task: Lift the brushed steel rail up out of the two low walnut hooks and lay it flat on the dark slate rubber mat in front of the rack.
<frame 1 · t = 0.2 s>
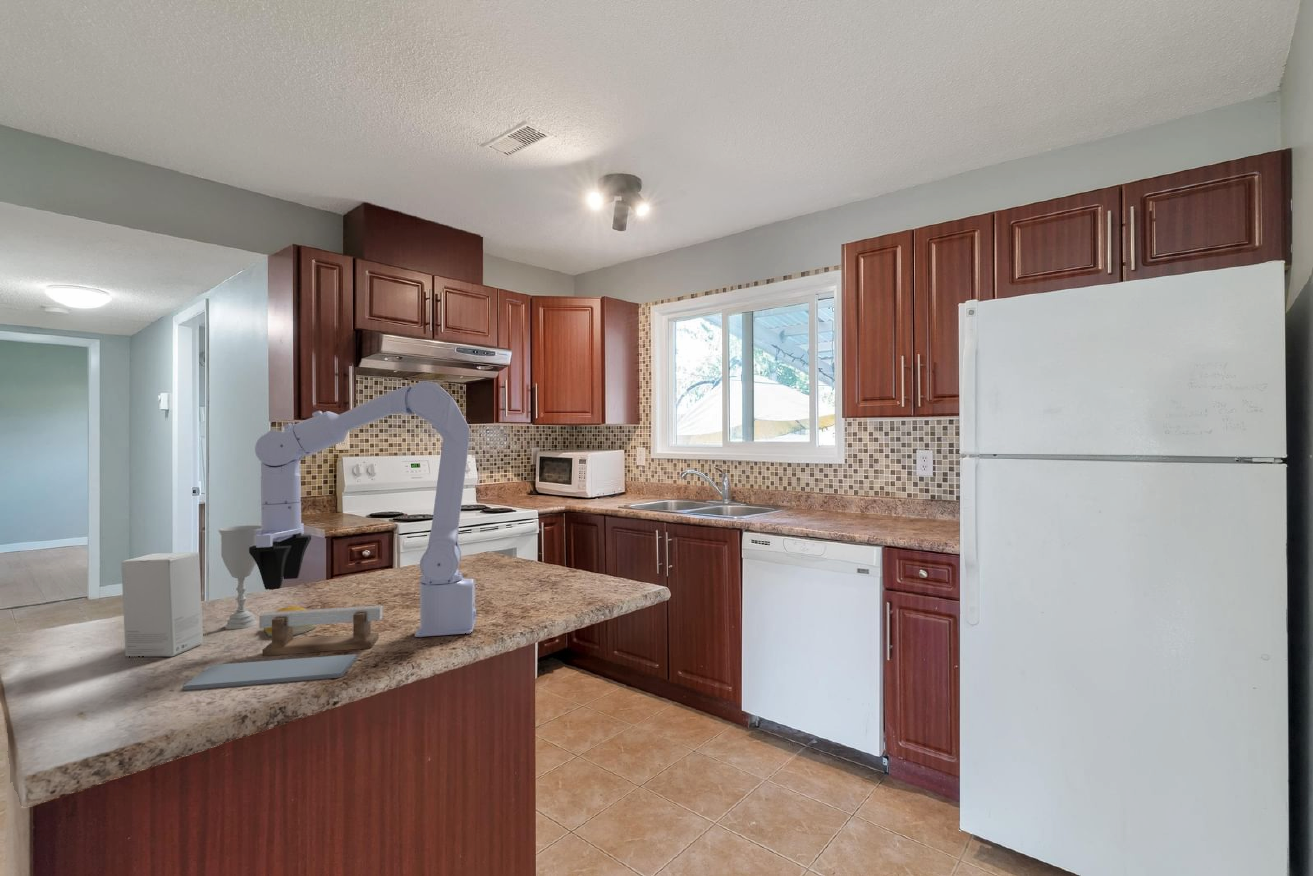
hand: (282, 583, 103), 10 cm above the countertop, tool pointing down, fingers open, 7 cm apart
skincare box: (163, 652, 99), on the countertop
bread roll: (290, 631, 110), on the countertop
chalice: (241, 626, 113), on the countertop
slate mat: (275, 673, 89), on the countertop
steel rail: (322, 622, 100), point 4 cm above the countertop, touching hook rack
hook rack: (322, 646, 100), on the countertop
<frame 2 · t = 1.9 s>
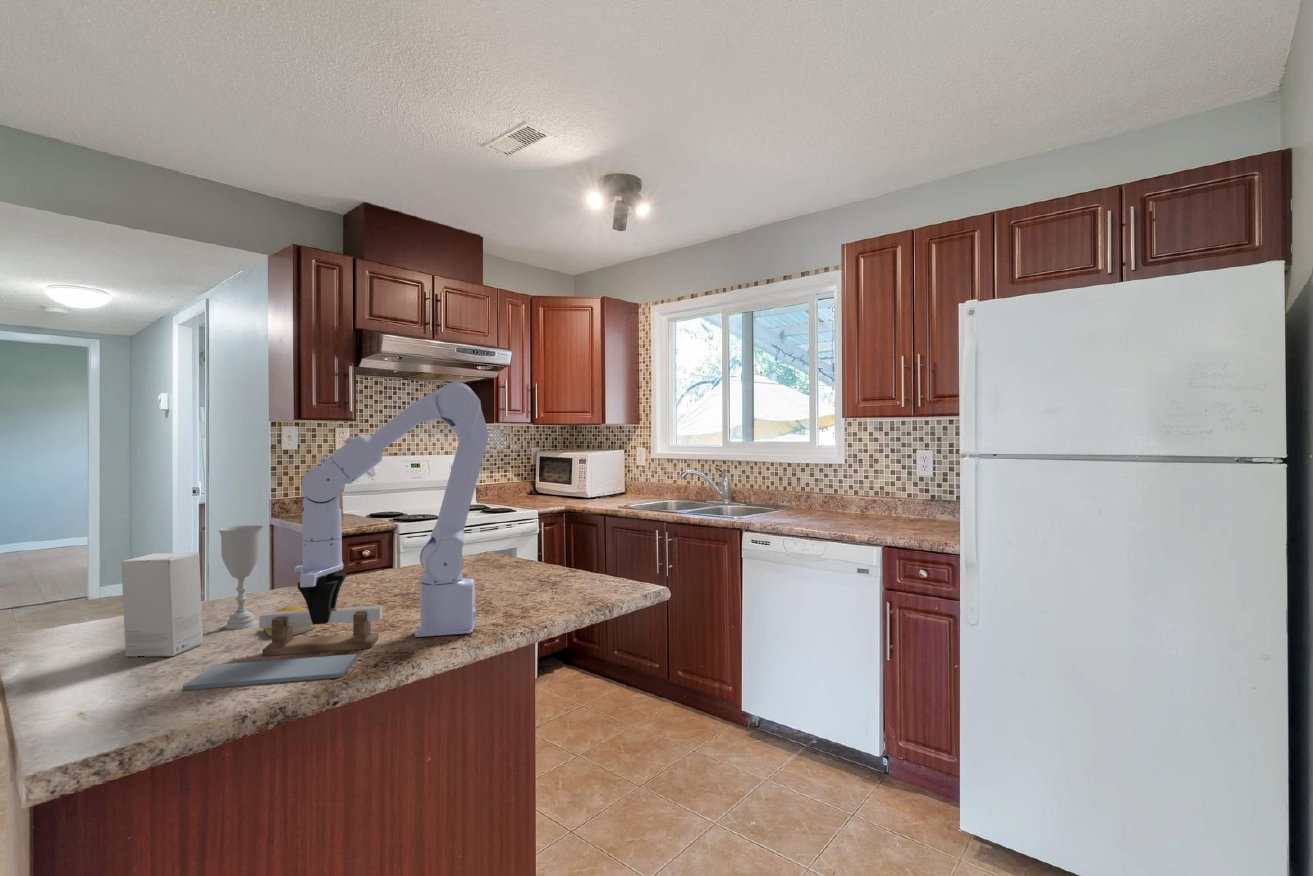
hand: (322, 621, 100), 4 cm above the countertop, tool pointing down, fingers closed on steel rail, 2 cm apart
steel rail: (322, 622, 100), point 4 cm above the countertop, touching gripper, hook rack
everything else where it was.
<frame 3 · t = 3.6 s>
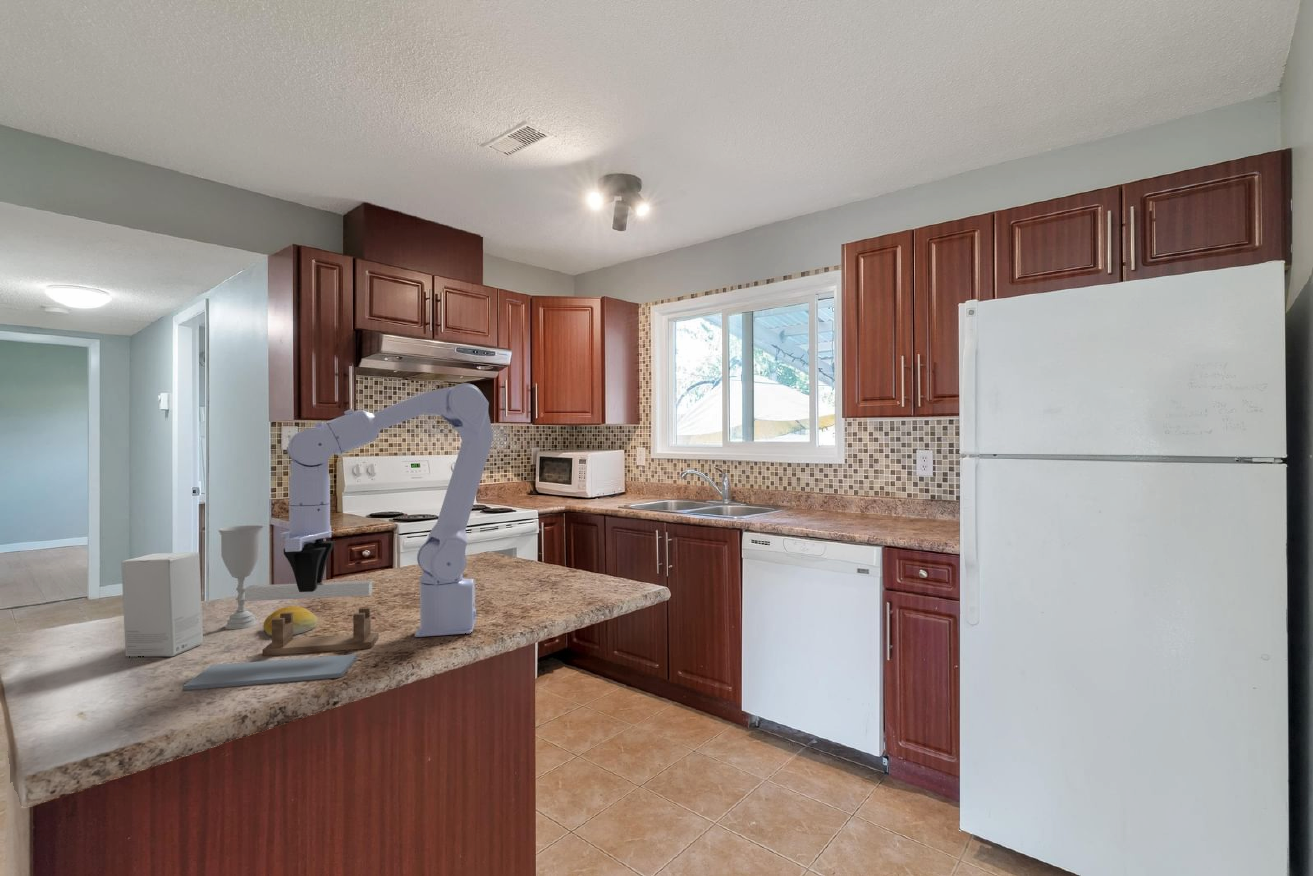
hand: (309, 589, 97), 10 cm above the countertop, tool pointing down, fingers closed on steel rail
steel rail: (310, 596, 97), point 9 cm above the countertop, touching gripper
everything else where it was.
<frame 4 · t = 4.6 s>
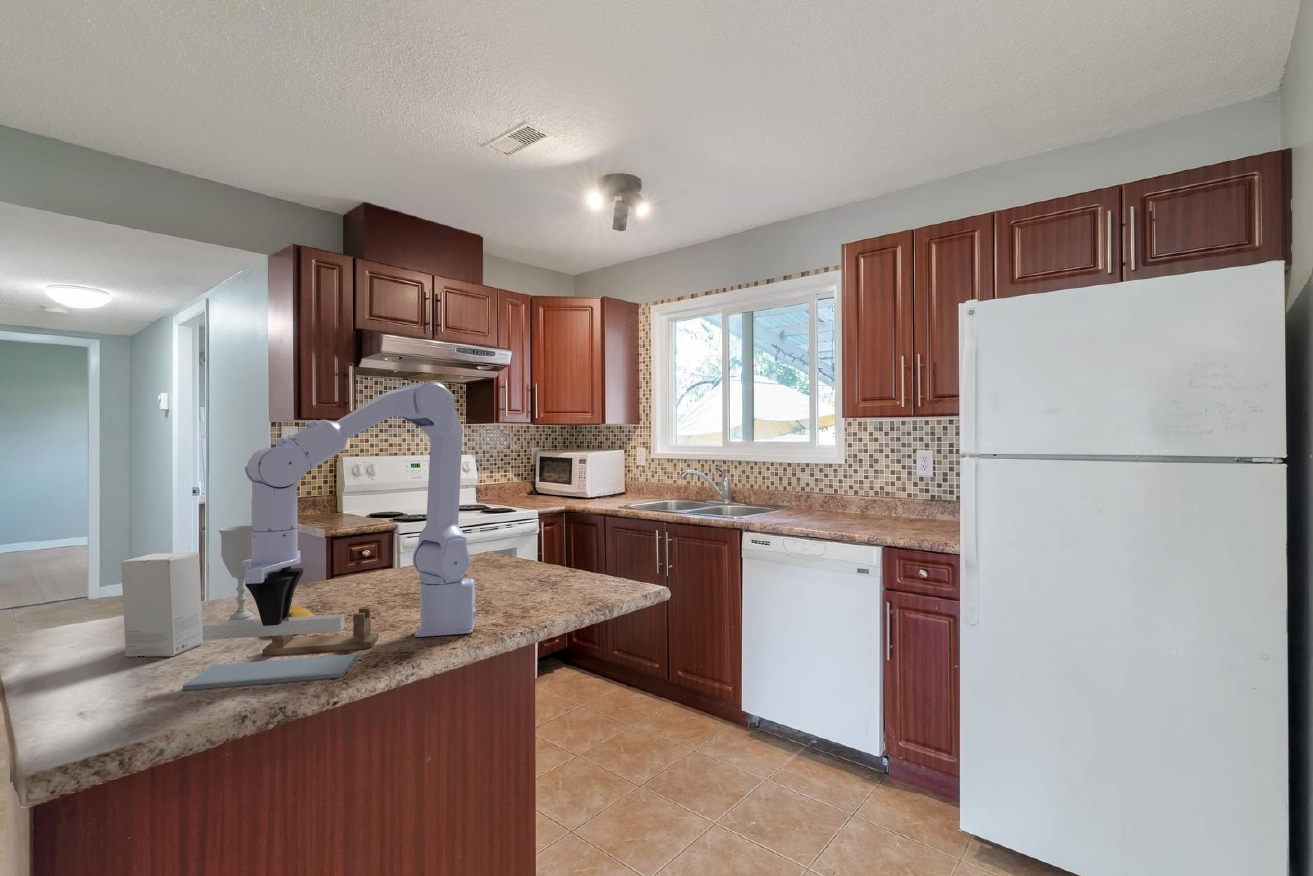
hand: (275, 622, 89), 7 cm above the countertop, tool pointing down, fingers closed on steel rail, 2 cm apart
steel rail: (275, 633, 89), point 6 cm above the countertop, touching gripper
everything else where it was.
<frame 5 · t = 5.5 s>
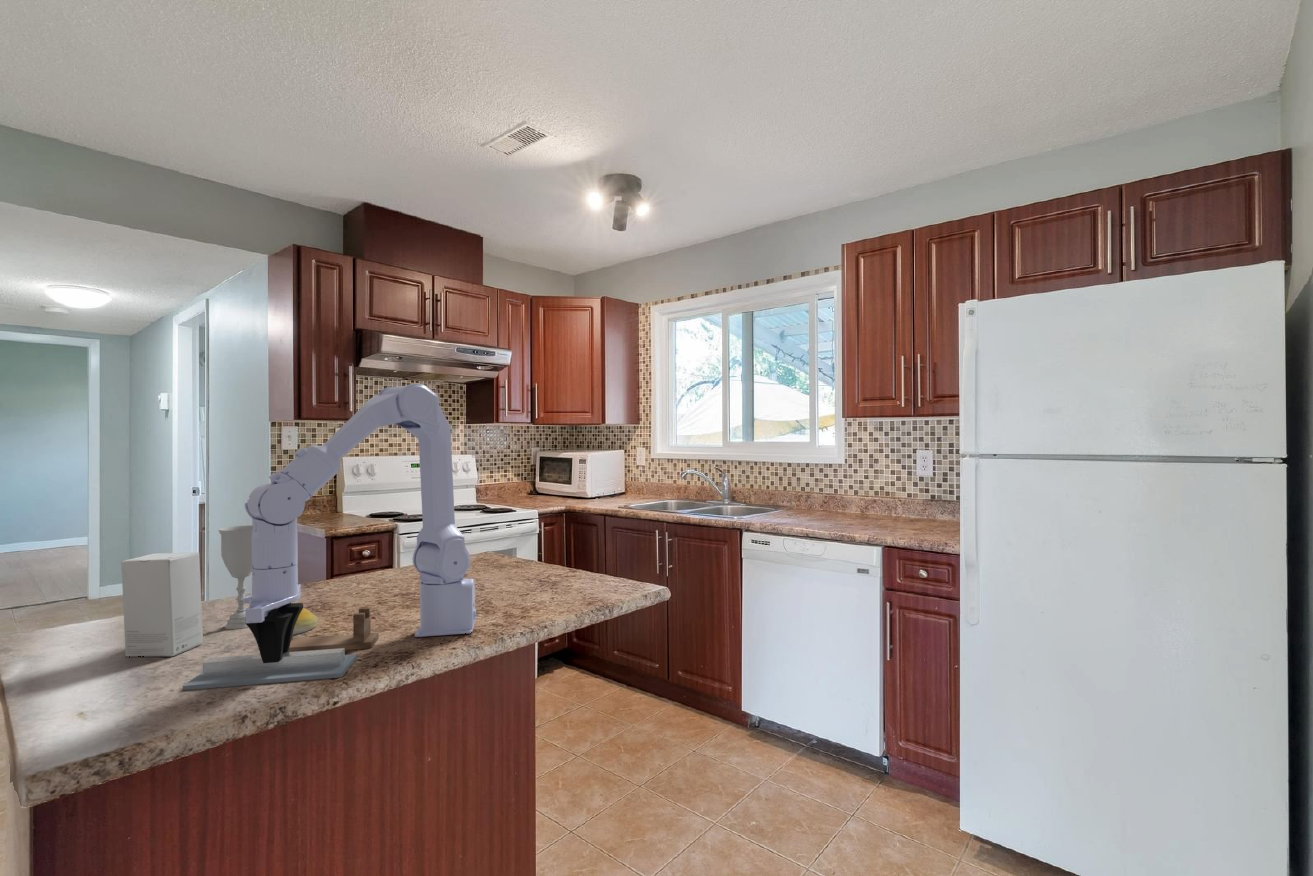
hand: (275, 658, 89), 2 cm above the countertop, tool pointing down, fingers closed on steel rail, 2 cm apart
steel rail: (276, 669, 89), point 1 cm above the countertop, touching gripper, slate mat
everything else where it was.
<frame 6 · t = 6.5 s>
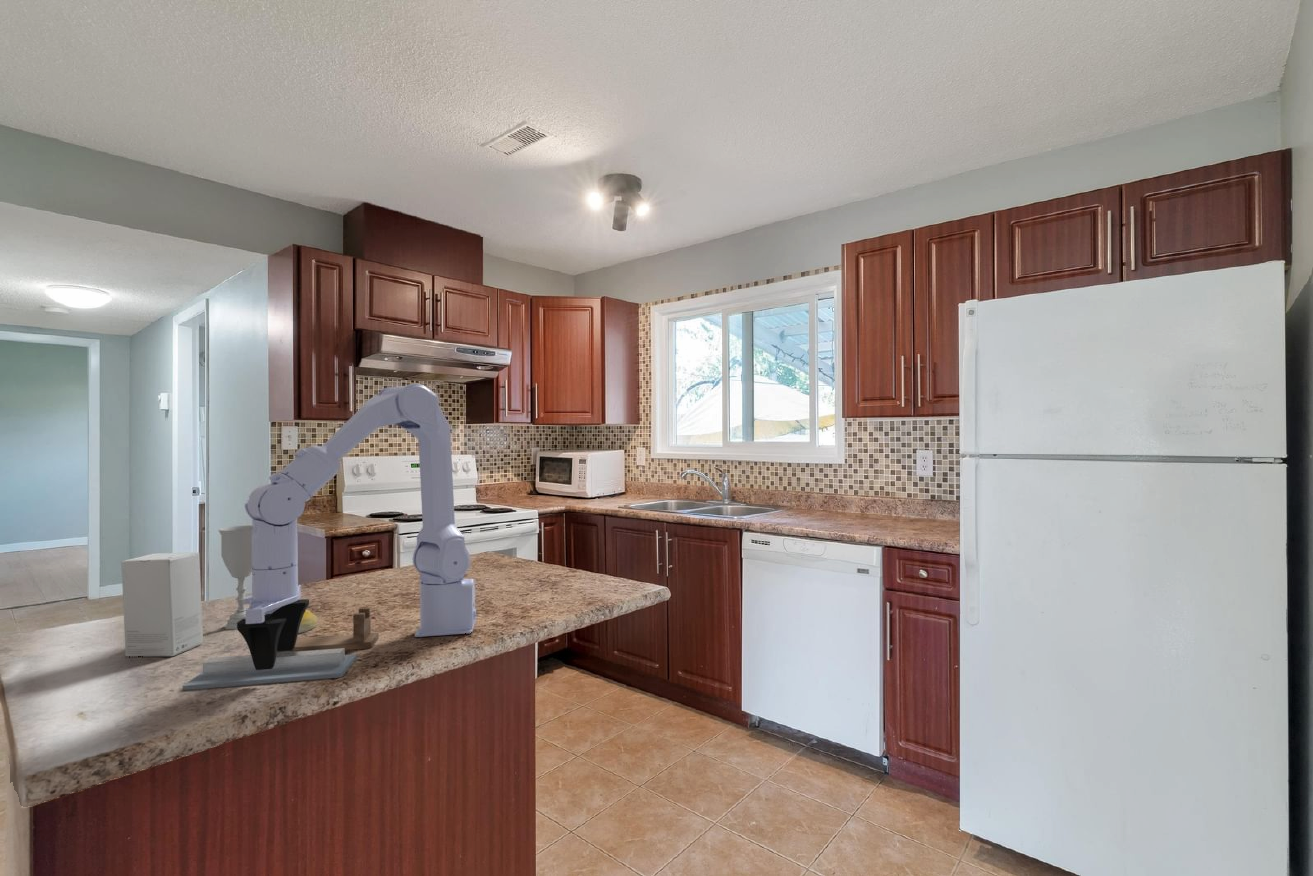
hand: (275, 659, 89), 2 cm above the countertop, tool pointing down, fingers open, 7 cm apart
steel rail: (276, 669, 89), point 1 cm above the countertop, touching slate mat
everything else where it was.
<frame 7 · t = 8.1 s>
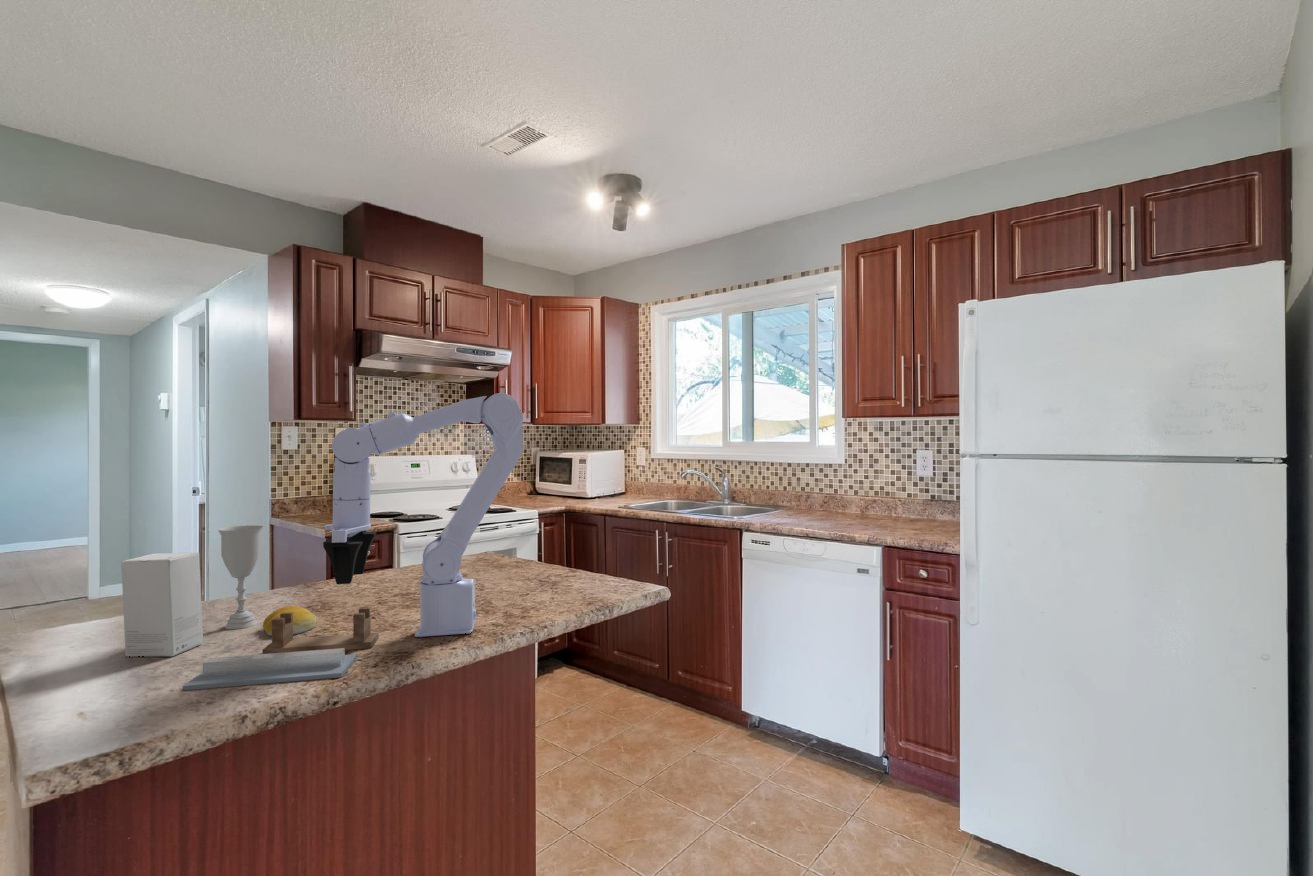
hand: (350, 578, 104), 10 cm above the countertop, tool pointing down, fingers open, 7 cm apart
nothing on the countertop moved.
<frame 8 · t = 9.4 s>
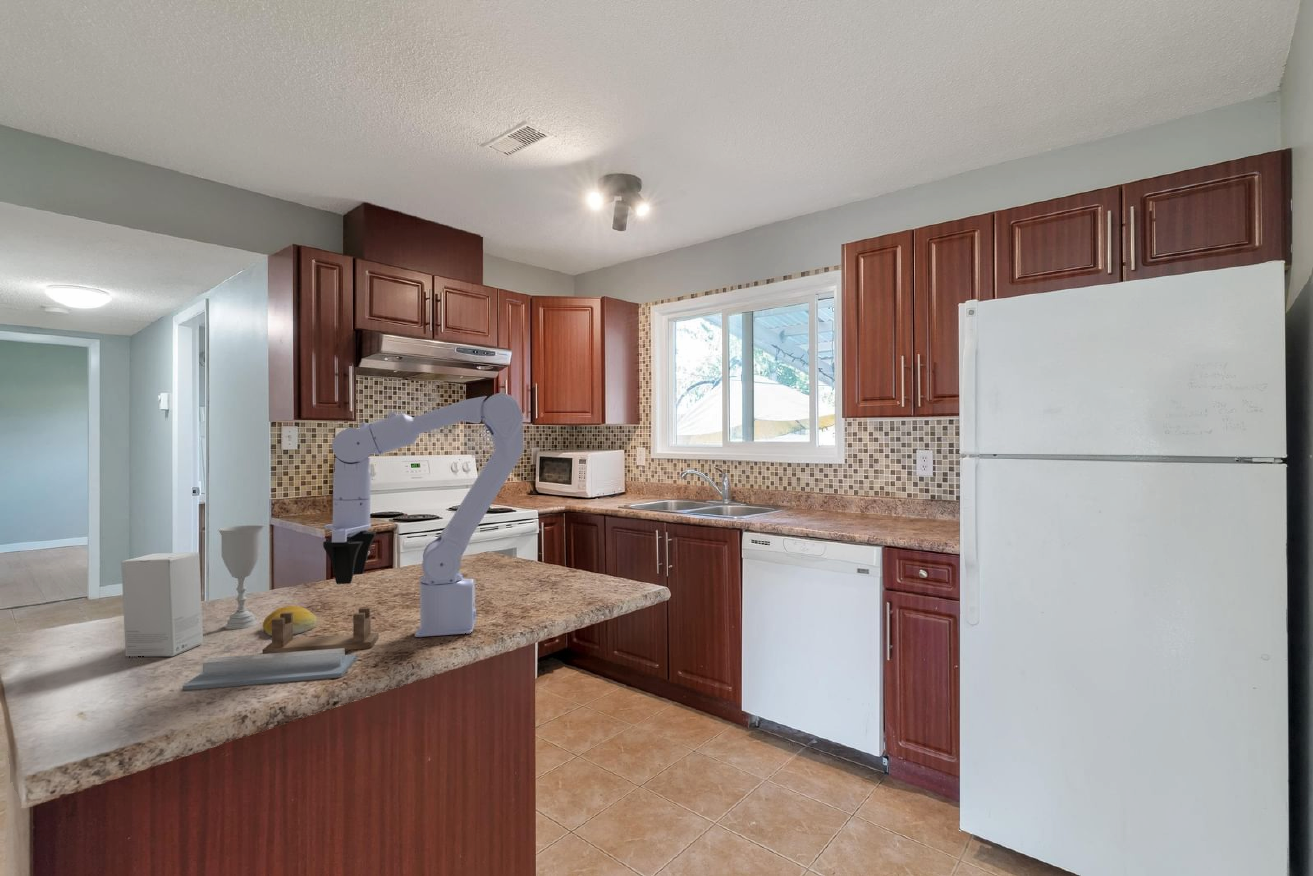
hand: (350, 578, 104), 10 cm above the countertop, tool pointing down, fingers open, 7 cm apart
nothing on the countertop moved.
at the end: steel rail inside the target area on the slate mat (0.0 cm from its centre), point 0.6 cm above the slate mat's base; steel rail tilted 0°; the gripper is holding nothing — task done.
